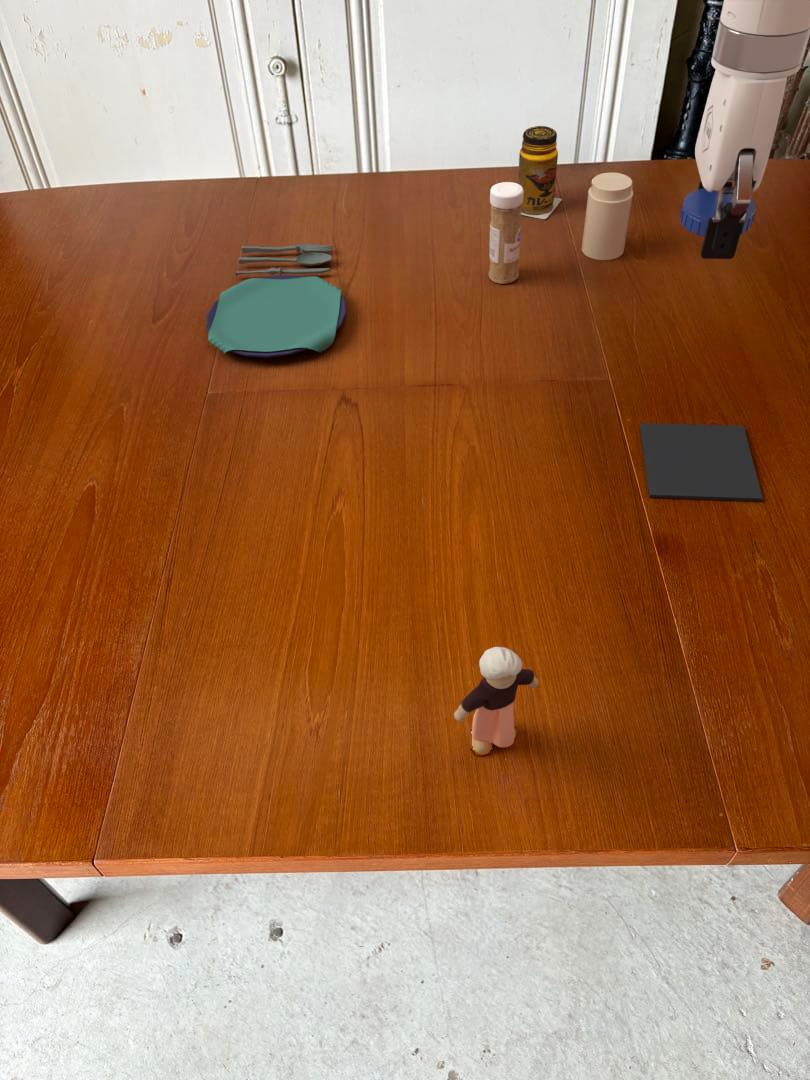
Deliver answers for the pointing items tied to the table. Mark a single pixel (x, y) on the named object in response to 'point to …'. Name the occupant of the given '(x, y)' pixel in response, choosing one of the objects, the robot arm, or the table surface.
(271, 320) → the cutlery set
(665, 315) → the table surface
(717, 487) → the mat
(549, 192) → the condiment
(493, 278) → the spice bottle
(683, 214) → the lid
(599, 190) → the jar
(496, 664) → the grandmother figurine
